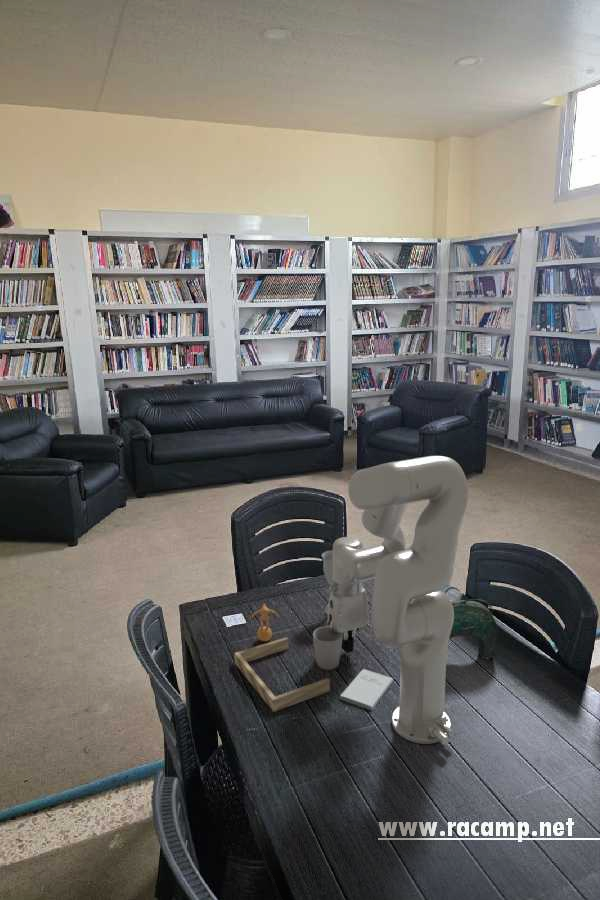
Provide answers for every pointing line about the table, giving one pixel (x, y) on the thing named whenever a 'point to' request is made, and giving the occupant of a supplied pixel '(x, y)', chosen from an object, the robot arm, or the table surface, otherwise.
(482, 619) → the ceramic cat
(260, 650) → the wooden u-shaped frame
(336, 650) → the cup
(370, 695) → the external hard drive
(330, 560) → the chalice
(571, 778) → the table surface
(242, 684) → the table surface
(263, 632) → the figurine
